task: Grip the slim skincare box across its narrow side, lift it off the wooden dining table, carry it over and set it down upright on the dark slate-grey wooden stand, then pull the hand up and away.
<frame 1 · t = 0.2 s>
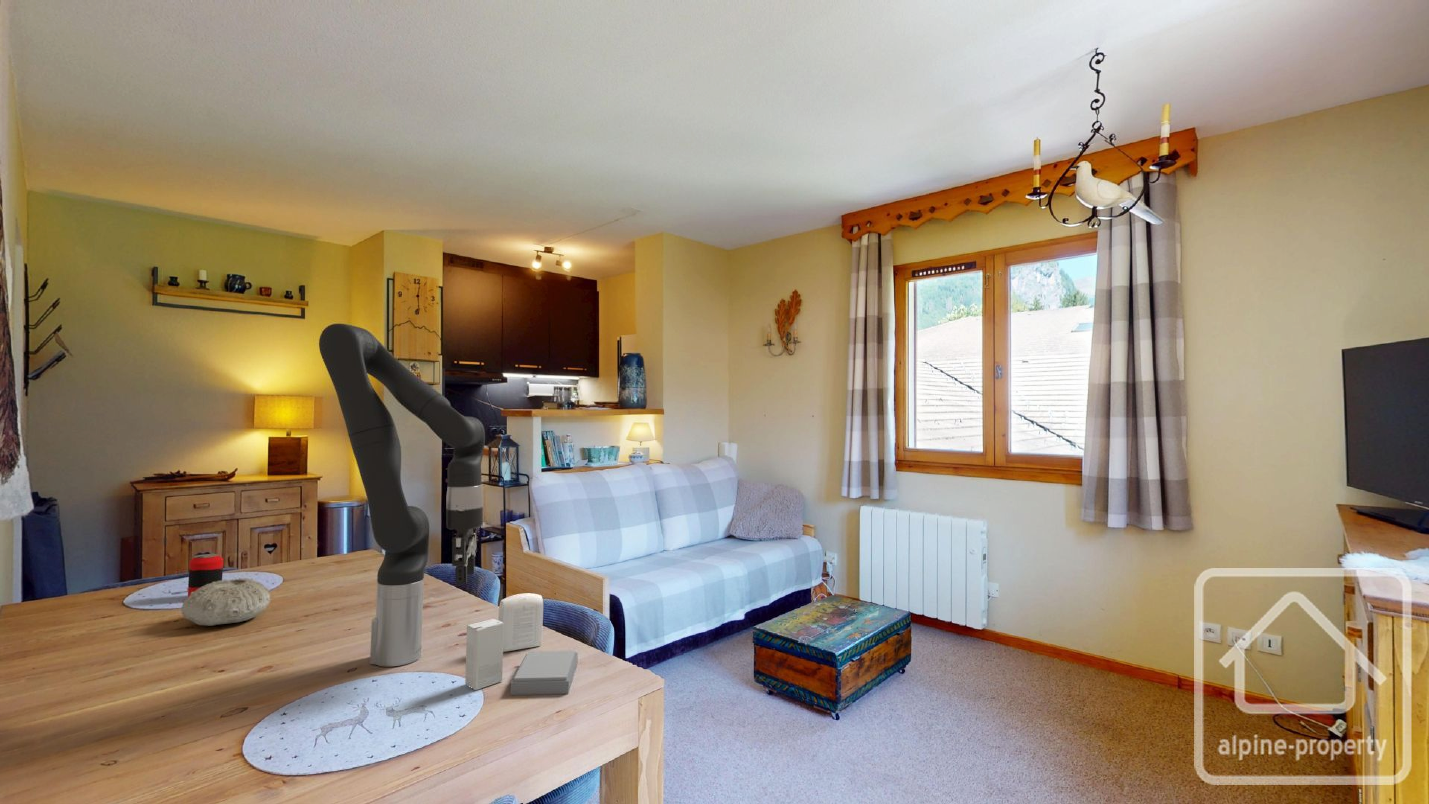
hand: (465, 579, 136), 18 cm above the table, tool pointing down, fingers open, 8 cm apart
skincare box: (483, 685, 123), on the table
slate stand: (546, 678, 126), on the table
decorative shell: (226, 622, 157), on the table
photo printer: (519, 648, 143), on the table
soda can: (204, 598, 177), on the table
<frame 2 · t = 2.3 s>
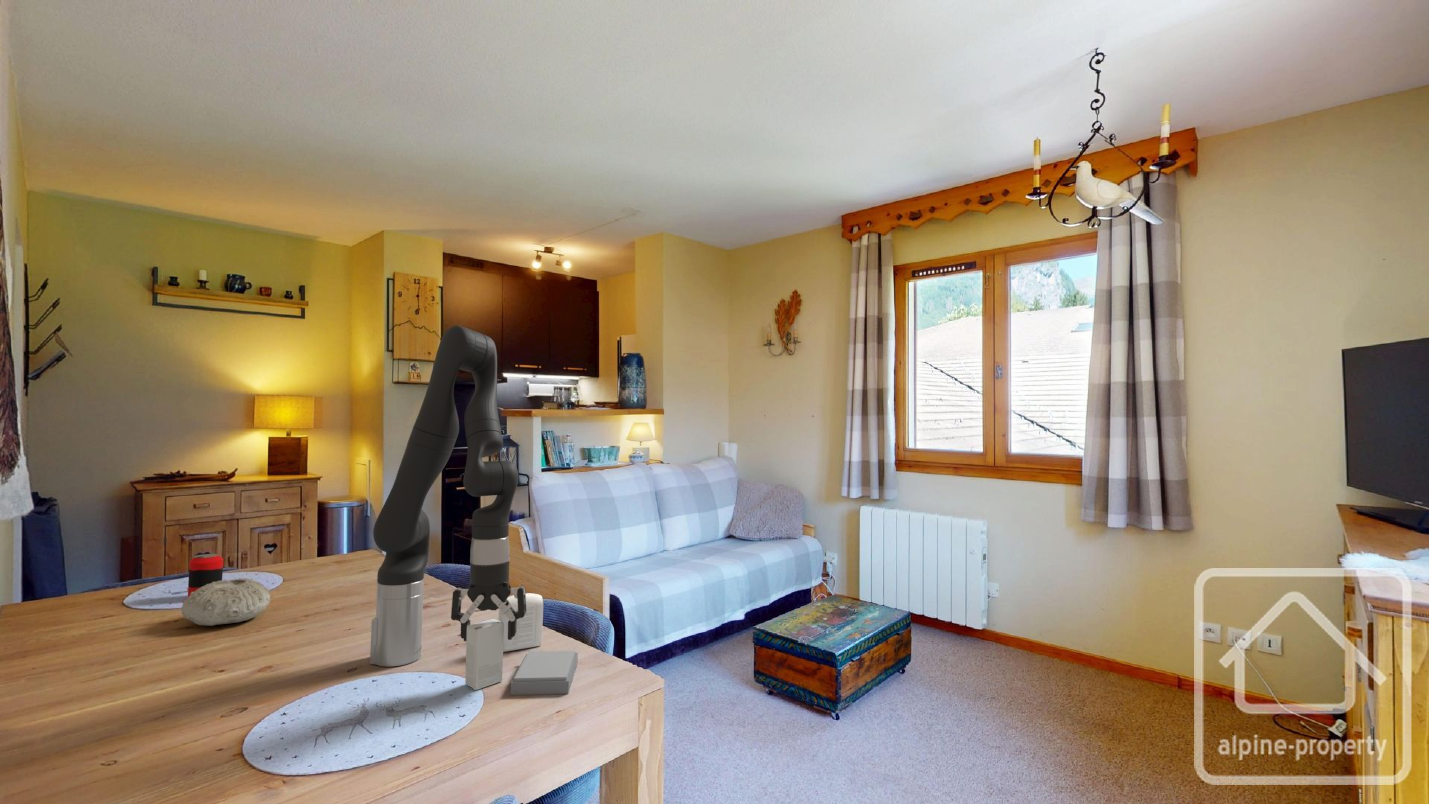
hand: (488, 639, 124), 9 cm above the table, tool pointing down, fingers open, 8 cm apart
skincare box: (483, 684, 123), on the table, touching gripper
everything else where it was.
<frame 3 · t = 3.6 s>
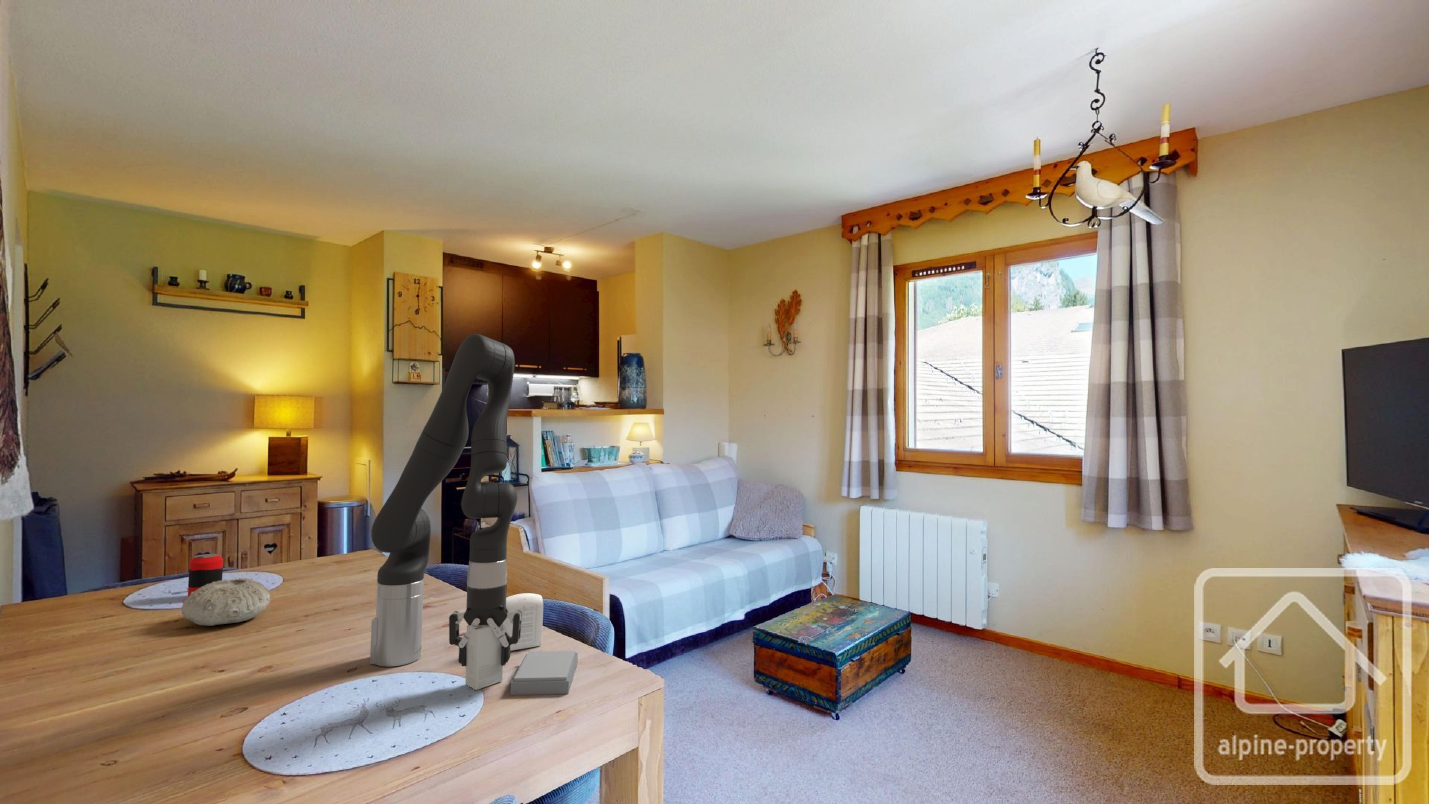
hand: (484, 664, 123), 4 cm above the table, tool pointing down, fingers closed on skincare box, 7 cm apart
skincare box: (483, 684, 123), on the table, touching gripper
everything else where it was.
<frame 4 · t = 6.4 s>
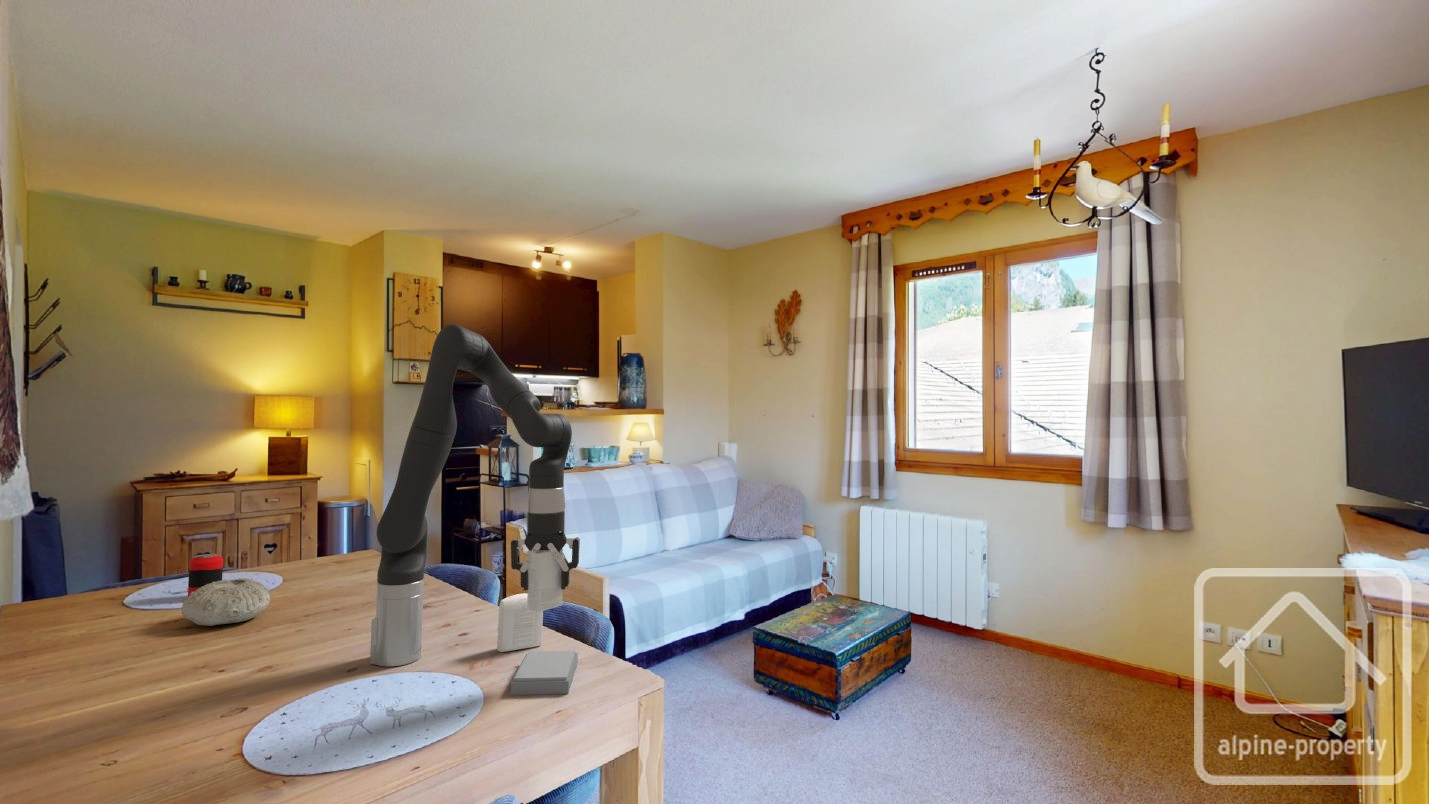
hand: (545, 588, 127), 18 cm above the table, tool pointing down, fingers closed on skincare box, 7 cm apart
skincare box: (544, 608, 127), point 14 cm above the table, touching gripper
everything else where it was.
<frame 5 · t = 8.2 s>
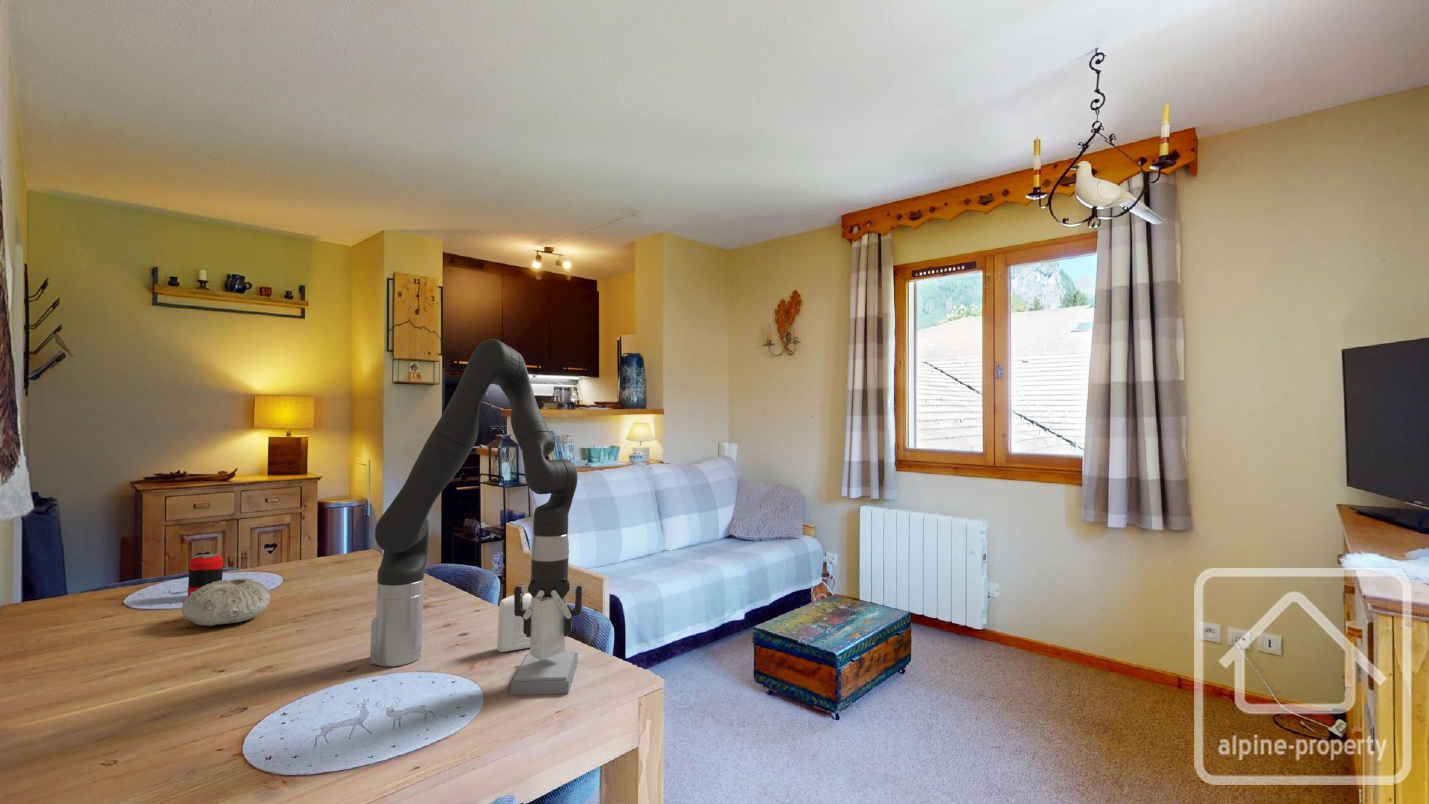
hand: (547, 635, 127), 9 cm above the table, tool pointing down, fingers closed on skincare box, 7 cm apart
skincare box: (547, 655, 127), point 5 cm above the table, touching gripper
everything else where it was.
when the fingers open (8 cm above the table, at t = 9.4 s): skincare box stays where it is, resting on slate stand.
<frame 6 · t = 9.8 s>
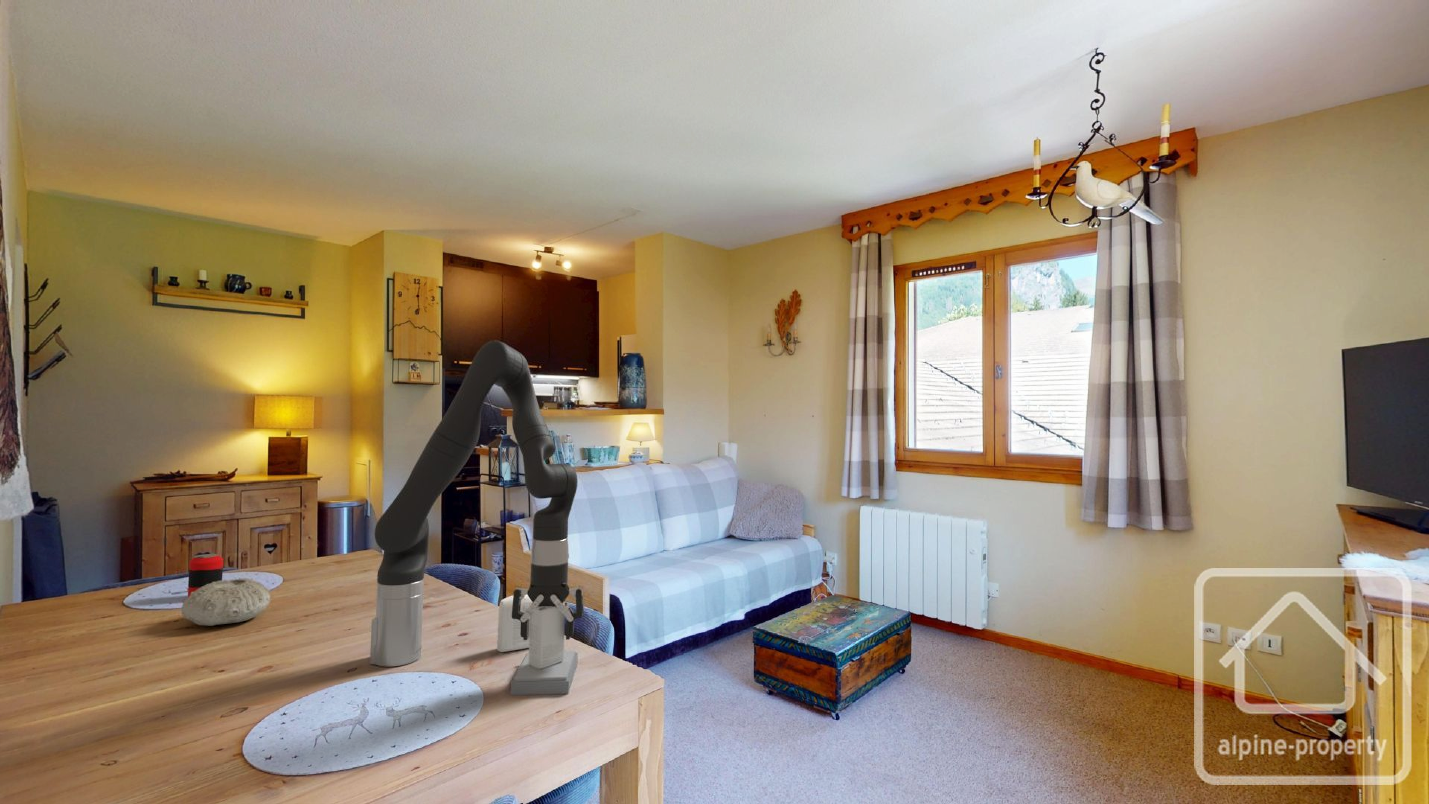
hand: (547, 638, 127), 8 cm above the table, tool pointing down, fingers open, 8 cm apart
skincare box: (545, 664, 126), point 3 cm above the table, touching slate stand
everything else where it was.
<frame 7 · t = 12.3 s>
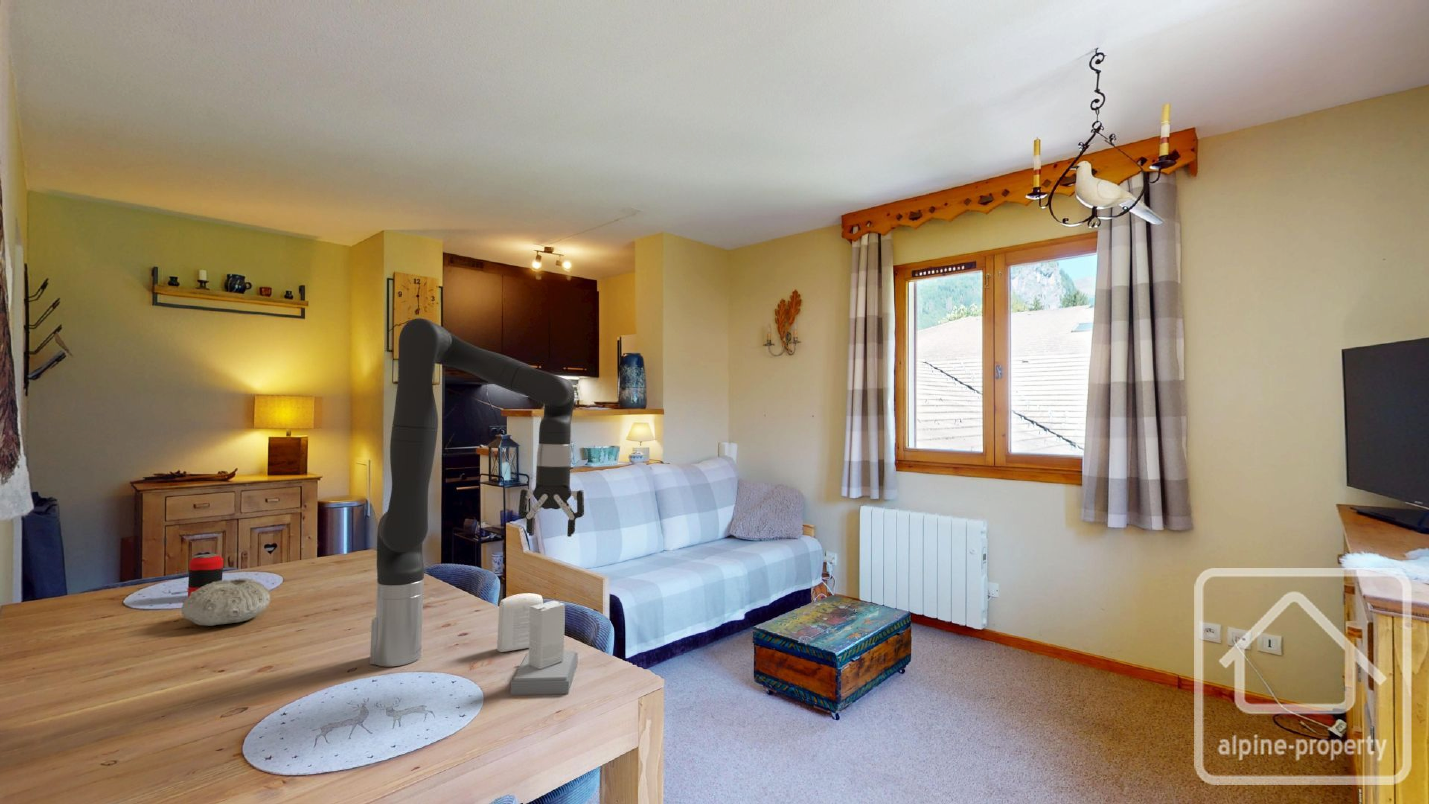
hand: (550, 535, 138), 27 cm above the table, tool pointing down, fingers open, 8 cm apart
nothing on the table moved.
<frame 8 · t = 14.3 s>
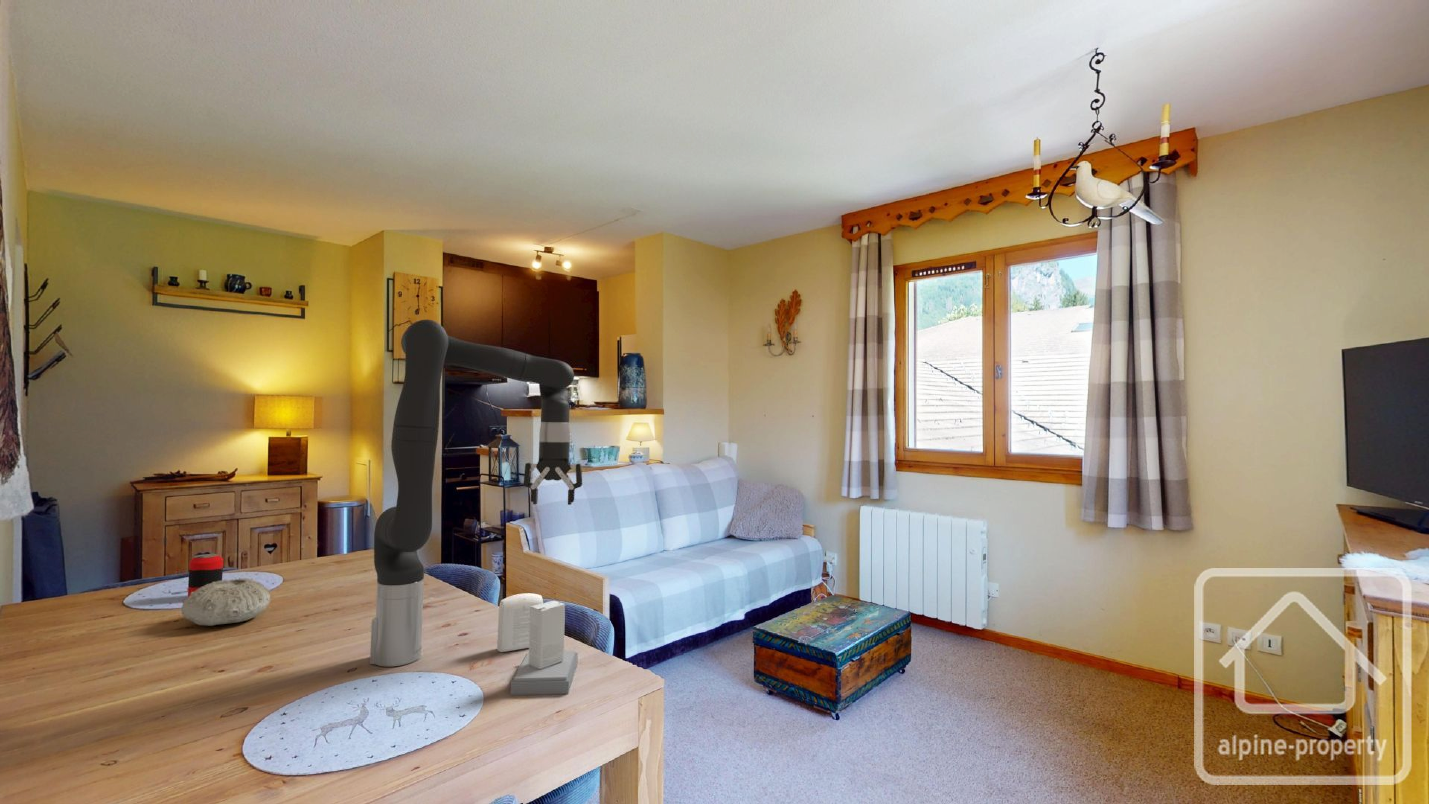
hand: (552, 504, 155), 32 cm above the table, tool pointing down, fingers open, 8 cm apart
nothing on the table moved.
at the end: skincare box inside the target area on the slate stand (0.1 cm from its centre), point 2.8 cm above the slate stand's base; skincare box tilted 0°; the gripper is holding nothing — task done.
